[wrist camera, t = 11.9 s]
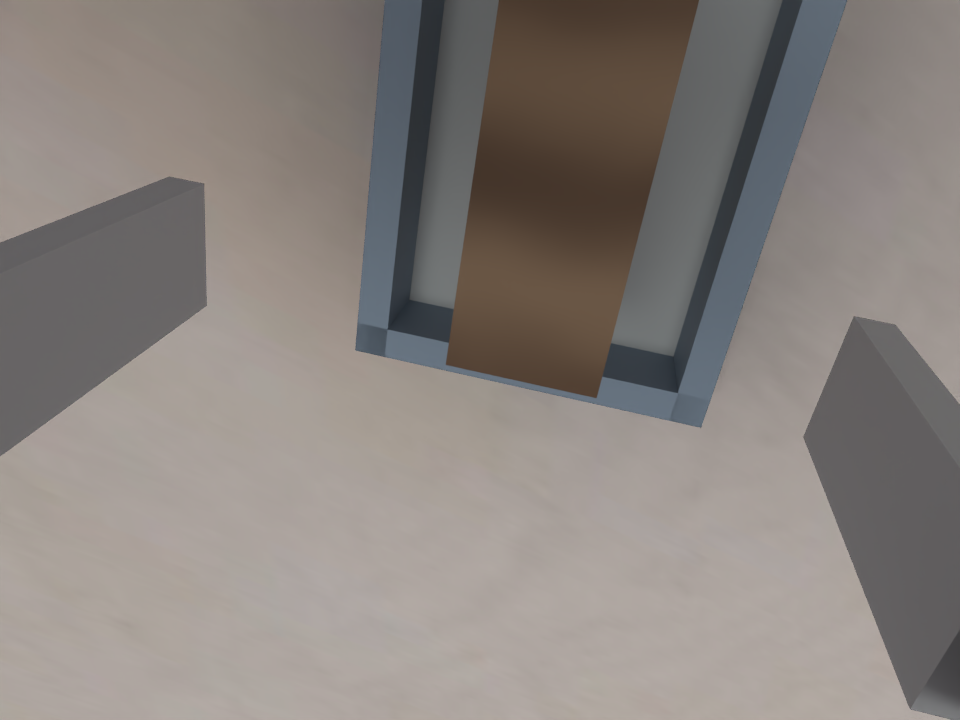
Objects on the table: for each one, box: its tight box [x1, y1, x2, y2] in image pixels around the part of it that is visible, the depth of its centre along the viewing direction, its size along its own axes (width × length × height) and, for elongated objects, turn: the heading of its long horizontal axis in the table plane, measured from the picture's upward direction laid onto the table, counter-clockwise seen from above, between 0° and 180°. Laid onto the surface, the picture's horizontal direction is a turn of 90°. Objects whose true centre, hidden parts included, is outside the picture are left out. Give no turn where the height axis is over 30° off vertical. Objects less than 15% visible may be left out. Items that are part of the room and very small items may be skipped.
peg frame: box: [355, 0, 847, 428], centre depth 33 cm, size 24×18×5 cm
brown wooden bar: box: [446, 0, 699, 398], centre depth 29 cm, size 15×6×7 cm, turn 172°
